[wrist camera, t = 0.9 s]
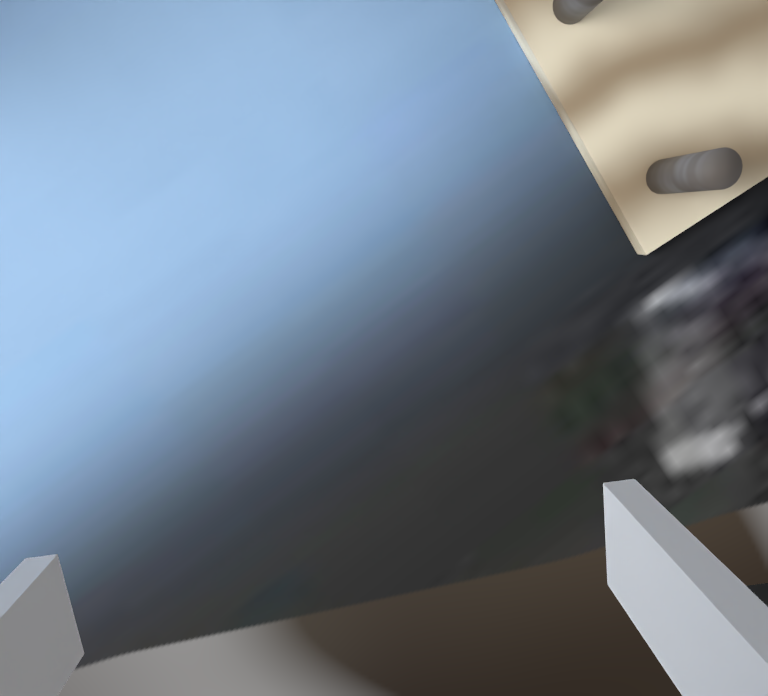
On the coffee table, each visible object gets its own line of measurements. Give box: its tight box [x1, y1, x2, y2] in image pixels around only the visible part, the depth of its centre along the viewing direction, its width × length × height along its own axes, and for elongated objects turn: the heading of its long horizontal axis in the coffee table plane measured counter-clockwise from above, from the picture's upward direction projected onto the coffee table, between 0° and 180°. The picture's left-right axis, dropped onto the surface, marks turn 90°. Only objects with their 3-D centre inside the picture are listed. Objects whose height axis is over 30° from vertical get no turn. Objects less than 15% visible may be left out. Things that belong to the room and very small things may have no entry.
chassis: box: [495, 0, 768, 255], centre depth 31 cm, size 18×20×7 cm
